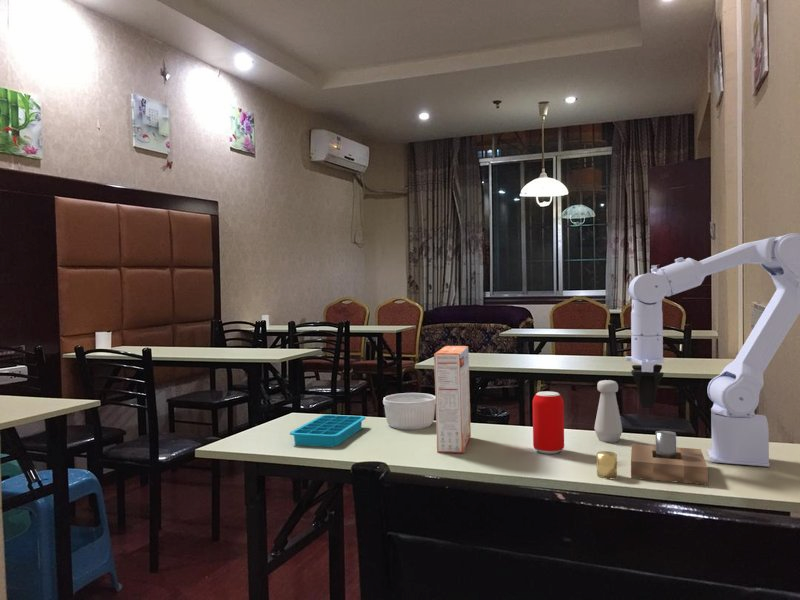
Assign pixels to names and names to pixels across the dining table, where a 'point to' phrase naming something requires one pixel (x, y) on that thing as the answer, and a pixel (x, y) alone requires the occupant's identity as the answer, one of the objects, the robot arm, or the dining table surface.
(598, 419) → the salt shaker
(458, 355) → the cracker box
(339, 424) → the ice cube tray
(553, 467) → the dining table surface
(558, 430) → the beverage can
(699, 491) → the dining table surface
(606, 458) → the short pin
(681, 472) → the hole block
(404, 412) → the ramekin
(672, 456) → the long pin
